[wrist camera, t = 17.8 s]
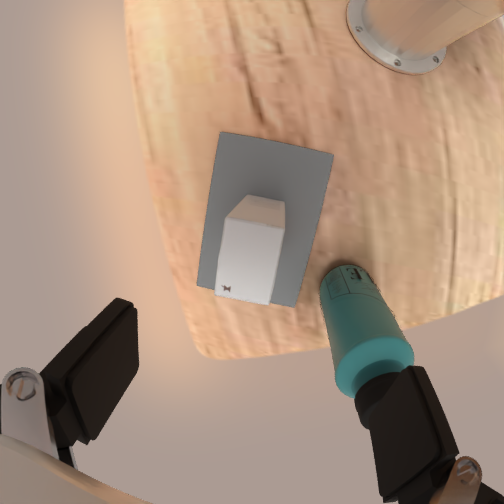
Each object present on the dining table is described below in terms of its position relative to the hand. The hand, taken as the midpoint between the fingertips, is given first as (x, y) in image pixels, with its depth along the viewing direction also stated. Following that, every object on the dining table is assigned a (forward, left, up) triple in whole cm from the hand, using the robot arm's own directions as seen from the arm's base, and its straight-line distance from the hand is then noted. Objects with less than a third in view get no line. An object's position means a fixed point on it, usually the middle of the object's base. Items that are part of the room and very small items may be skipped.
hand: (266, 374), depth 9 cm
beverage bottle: (+6, +9, -24) cm, 26 cm away
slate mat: (+1, -2, -24) cm, 24 cm away
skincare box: (+1, -2, -23) cm, 23 cm away
